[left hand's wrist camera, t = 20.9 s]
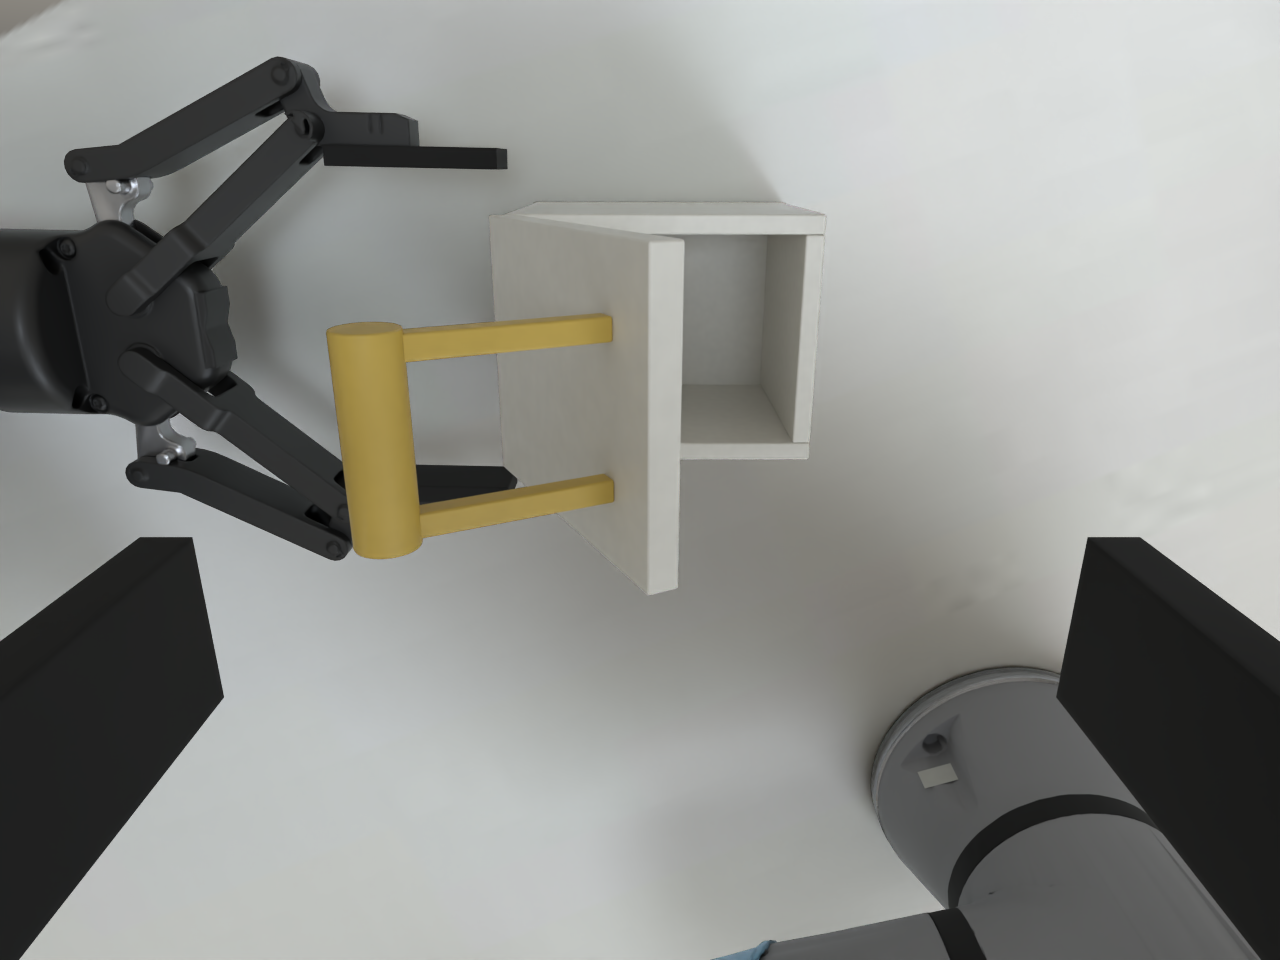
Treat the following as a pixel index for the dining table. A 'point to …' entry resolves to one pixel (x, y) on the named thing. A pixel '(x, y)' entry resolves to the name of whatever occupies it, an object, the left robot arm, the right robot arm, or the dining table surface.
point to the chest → (735, 317)
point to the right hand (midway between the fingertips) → (509, 332)
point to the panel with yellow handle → (538, 398)
